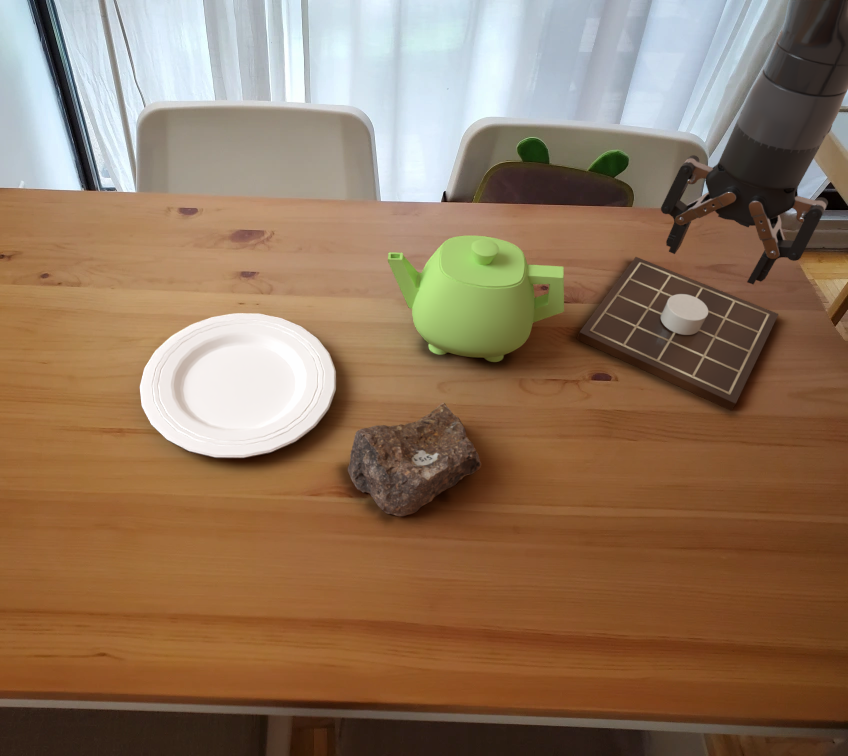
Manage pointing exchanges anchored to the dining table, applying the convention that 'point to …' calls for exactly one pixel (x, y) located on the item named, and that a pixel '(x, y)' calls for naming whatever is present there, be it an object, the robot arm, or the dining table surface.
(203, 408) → the plate
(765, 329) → the board
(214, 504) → the dining table surface
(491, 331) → the teapot
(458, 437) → the rock
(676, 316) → the white cylindrical puck
